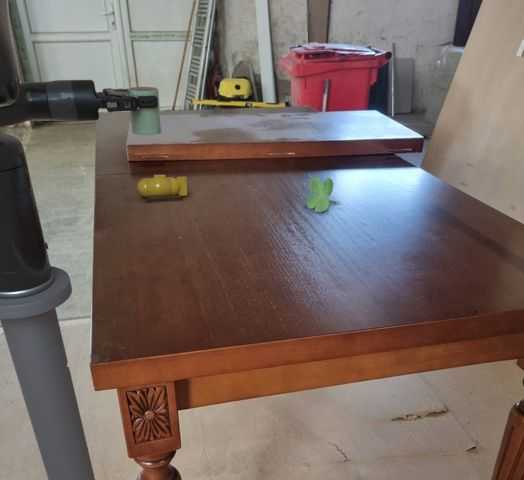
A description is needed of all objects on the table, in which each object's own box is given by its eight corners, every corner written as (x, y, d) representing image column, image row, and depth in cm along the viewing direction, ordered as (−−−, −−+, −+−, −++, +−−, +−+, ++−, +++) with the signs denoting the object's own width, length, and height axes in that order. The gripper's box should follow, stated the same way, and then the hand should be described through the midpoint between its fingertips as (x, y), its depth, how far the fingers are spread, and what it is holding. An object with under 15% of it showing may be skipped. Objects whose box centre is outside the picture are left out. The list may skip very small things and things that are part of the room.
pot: (147, 136, 110) (143, 91, 105) (126, 132, 113) (121, 88, 108) (167, 131, 115) (164, 88, 110) (146, 128, 117) (142, 85, 113)
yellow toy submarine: (138, 202, 109) (135, 178, 106) (138, 196, 112) (135, 173, 109) (188, 200, 111) (186, 176, 108) (186, 194, 114) (185, 171, 111)
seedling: (326, 229, 111) (308, 219, 106) (317, 197, 114) (300, 186, 109) (354, 212, 107) (338, 201, 102) (345, 180, 109) (328, 168, 104)
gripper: (69, 84, 99) (158, 83, 103) (69, 75, 110) (149, 75, 114) (76, 127, 103) (161, 124, 107) (75, 114, 114) (152, 112, 119)
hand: (155, 99), depth 111 cm, fingers closed on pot, 6 cm apart
